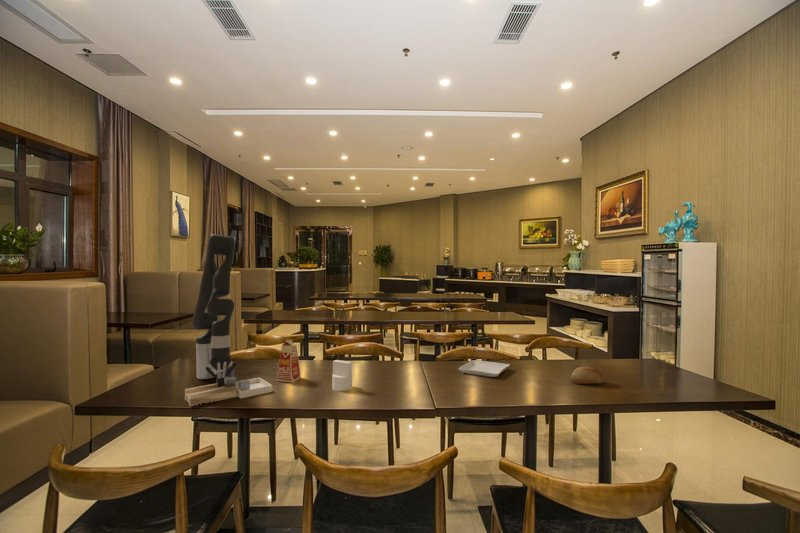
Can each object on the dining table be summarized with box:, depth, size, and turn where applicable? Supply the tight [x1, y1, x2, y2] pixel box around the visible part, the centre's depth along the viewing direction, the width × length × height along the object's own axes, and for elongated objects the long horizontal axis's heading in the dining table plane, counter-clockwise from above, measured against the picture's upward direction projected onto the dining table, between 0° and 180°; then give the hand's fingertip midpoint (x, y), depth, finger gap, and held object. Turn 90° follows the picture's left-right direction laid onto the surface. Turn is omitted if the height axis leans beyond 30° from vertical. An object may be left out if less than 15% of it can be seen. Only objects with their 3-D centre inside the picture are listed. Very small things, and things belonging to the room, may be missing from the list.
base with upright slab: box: [331, 359, 353, 392], centre depth 184 cm, size 9×9×12 cm
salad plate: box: [458, 359, 511, 378], centre depth 210 cm, size 21×21×3 cm
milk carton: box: [275, 338, 301, 383], centre depth 198 cm, size 9×9×20 cm
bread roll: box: [570, 365, 605, 385], centre depth 189 cm, size 10×15×8 cm, turn 90°
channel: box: [184, 383, 238, 407], centre depth 170 cm, size 10×18×4 cm, turn 129°
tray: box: [236, 377, 274, 399], centre depth 180 cm, size 16×14×3 cm
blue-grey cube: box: [237, 378, 250, 391], centre depth 178 cm, size 4×4×4 cm
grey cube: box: [224, 376, 238, 388], centre depth 174 cm, size 4×4×4 cm
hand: (220, 386), depth 172 cm, fingers closed
